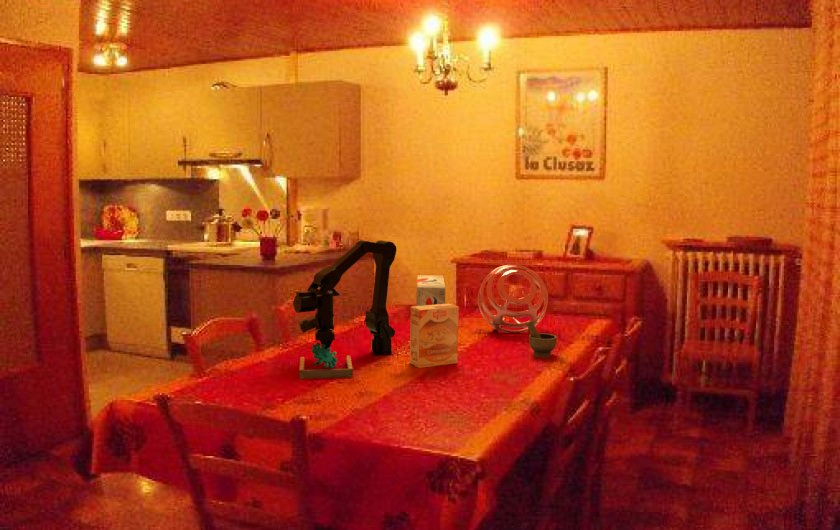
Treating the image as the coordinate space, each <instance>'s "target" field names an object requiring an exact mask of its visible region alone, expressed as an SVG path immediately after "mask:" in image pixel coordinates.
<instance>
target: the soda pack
mask: <svg viewBox="0 0 840 530" xmlns="http://www.w3.org/2000/svg"><path fill="white" fill-rule="evenodd" d="M436 304H446V283H445V279H444V275H443V274H442V275H434V274H432V275H431V274H430V275H429V274H417V280H416V306H424V305H436Z"/></svg>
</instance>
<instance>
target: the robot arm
mask: <svg viewBox="0 0 840 530" xmlns="http://www.w3.org/2000/svg"><path fill="white" fill-rule="evenodd" d="M367 253H372V256H373V261H374V263H375V273H374V285H373V296H372V305H371V307H370V309H369V310H365V318H364V320H363V321H364V322H365V326H366V329H368V330H369V334H370V335H373V336H372V338H371V340H370V341H371V342H370V343H371V345H370V346H371V348H370V349H371V352H372V354H373V355H374V356H375V355H376V356H377V355H393V351H392V338H394V337H395V336H396V335H395V334H396V330H395V329H394V328H393V327H392V326H391V325H390V316H389V313H388V310H387V301H388V290H389V289H388V288H389V281H390V280H389V279H390V272H391V271H390V268H391V266H392V265H393V263H394V261H395V259H396V254H397V246H396V244H395V243H394V242H393V241H388V240H382V239H381V240H377V241H376V242H374V241H368V240H363V239H361V240H358V241H357V242H356V244H355V245H354V246H352V247H351V248H350V249H349V250H348V251H347V252H346V253H345V254H344V255H342V256H341V257H340V258H339V259H337V260H336V262H334V263H333V264H331V265H330V266H328V267H325V268H322V269H321V270H320V271H317V272H316V273H315V274H314V276H313V280H312V282H311V283H310V284H309V287H308V288H307V290H306V291H296V292H295V293H296V295H295V296H294V299H293V301H292V304H293V309H294V311H295V312H296V313H297V314H301V313H306V312H307V313H309V312H314V311H315V310H316V311H315V313H314V316H312V317H311V316H310V317H308V318H306V319H303V320H300V321H299V323H298V325H299V328H300V330H301V333H302V334H303V333H306V332H308V331H310V330H313V329H314V330H316V331H315V341H319V343H320V346H321V345H322V344H325V345H326V346H325V347H324V349H327V348H328V347H330V348H331V346H332V343H333V341H335V340H336V338H335V334H336V333H335V331H334V330H335V322H334V318H335V316H334V315H335V314H334V313H335V312H334V311H335V310H334V306H335V305H334V303H335V301H334V299H335V298H334V297H338V296H340V293H339V292H338V291H337V290H336V289H335V288H336V286H338V284H339V283H340V281H341V279H342V277H343V275H344V274H345V273H346V272H347V271H349V270H350V269H351V268H352V267H353V266H354V265H355V264H356V263H358V261H359V260H360V259H362V258H363V257H364V256H365V255H366V254H367Z"/></svg>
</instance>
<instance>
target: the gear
mask: <svg viewBox="0 0 840 530" xmlns="http://www.w3.org/2000/svg"><path fill="white" fill-rule="evenodd" d="M325 346H326V345H325V344H322V345H321V342H316V343H315V344H313V345H312V346H311V347H312V349H311V353H312V354H313V359H314V360H317V361H315V362H314V366H316V367H317V366H318V365H322V364H323V363H324V364H323V365H322V366H323V367H324V368H325V369H334V367H336V366H337V365H338V363H337V361H338V358H337V357H335V356H336V355H337V351H333V352H331V351H332V349H331V346H330V347H328V348H327V349H324V347H325Z"/></svg>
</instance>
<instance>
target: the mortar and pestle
mask: <svg viewBox="0 0 840 530" xmlns="http://www.w3.org/2000/svg"><path fill="white" fill-rule="evenodd" d="M528 321H529V320H528ZM526 322H527V321H526ZM526 326H527V327H528V329H529V330H528V331H529V333H530V334H528V335H529V336H528V339H529V340H528V341H529V347H530V348H531V349H532V351H533V356H534V357H536V358H542V359H544V358H545V359H546V358H550V356H552V351H553V350H555V347H556V346H557V341H558V339H557V338H558V336H557V335H555V334H552V333H545V332H543V333H541V332H540V333H539V331H538V330H537V327H536V326H534V324H533V321H529V322H527V323H526Z"/></svg>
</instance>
